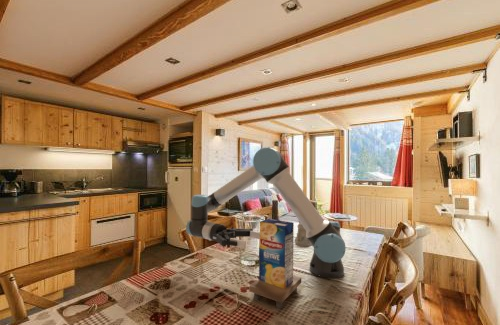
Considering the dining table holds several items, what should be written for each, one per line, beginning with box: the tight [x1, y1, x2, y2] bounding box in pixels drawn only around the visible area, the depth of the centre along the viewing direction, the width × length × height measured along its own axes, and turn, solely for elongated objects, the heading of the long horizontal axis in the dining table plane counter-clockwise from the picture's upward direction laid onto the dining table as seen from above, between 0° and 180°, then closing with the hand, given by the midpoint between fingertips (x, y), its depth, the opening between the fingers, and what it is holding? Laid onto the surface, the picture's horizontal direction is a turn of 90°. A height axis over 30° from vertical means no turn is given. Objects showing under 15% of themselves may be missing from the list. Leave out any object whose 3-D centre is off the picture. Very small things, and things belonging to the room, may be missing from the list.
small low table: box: [248, 274, 302, 310], centre depth 90 cm, size 17×13×5 cm
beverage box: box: [258, 218, 295, 289], centre depth 91 cm, size 7×11×22 cm, turn 54°
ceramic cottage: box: [294, 220, 312, 247], centre depth 154 cm, size 16×16×15 cm
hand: (255, 240), depth 96 cm, fingers open, 13 cm apart
